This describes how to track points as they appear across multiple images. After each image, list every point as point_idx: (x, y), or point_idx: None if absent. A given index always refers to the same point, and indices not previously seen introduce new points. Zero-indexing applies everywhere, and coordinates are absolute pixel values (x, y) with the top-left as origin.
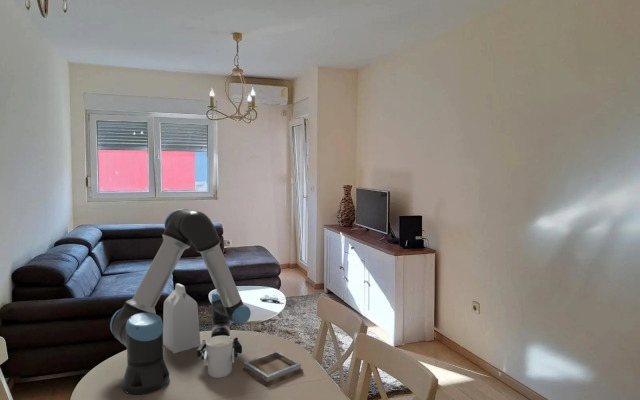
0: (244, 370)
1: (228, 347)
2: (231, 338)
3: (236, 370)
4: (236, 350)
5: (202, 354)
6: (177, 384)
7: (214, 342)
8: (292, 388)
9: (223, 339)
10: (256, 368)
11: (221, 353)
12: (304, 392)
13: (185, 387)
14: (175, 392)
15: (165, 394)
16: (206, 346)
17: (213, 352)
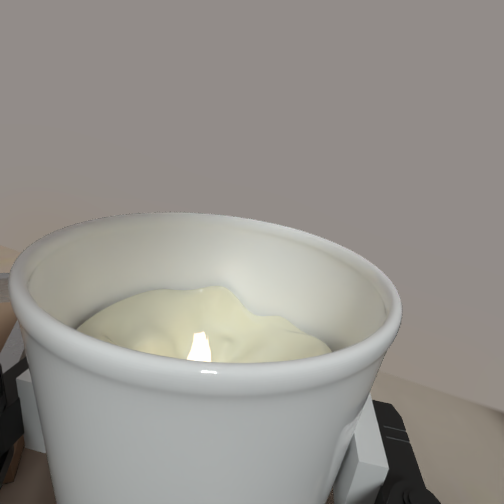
0: (22, 441)
1: (163, 244)
2: (42, 250)
3: (53, 501)
4: (11, 374)
5: (399, 442)
6: (489, 481)
7: (257, 456)
8: (8, 271)
9: (79, 393)
10: (18, 326)
11: (224, 278)
12: (6, 253)
13: (415, 426)
14: (448, 404)
15: (491, 408)
16: (365, 299)
17: (286, 282)
